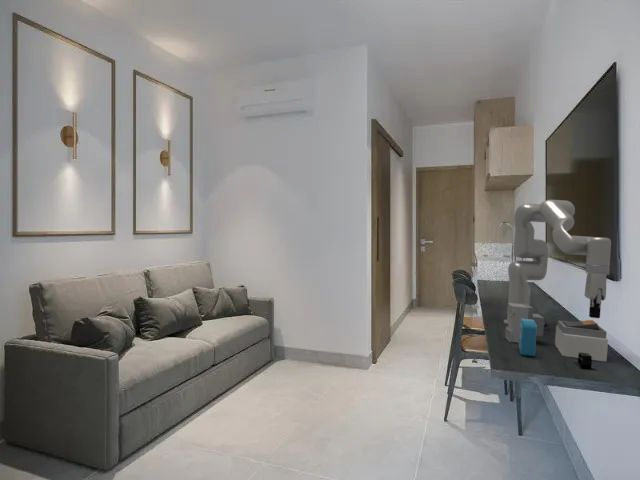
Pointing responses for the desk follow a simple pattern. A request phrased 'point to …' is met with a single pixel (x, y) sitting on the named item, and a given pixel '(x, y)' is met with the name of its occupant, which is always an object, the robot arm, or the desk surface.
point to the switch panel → (581, 341)
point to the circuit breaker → (515, 317)
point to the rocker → (582, 324)
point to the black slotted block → (584, 362)
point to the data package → (527, 337)
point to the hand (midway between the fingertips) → (594, 317)
